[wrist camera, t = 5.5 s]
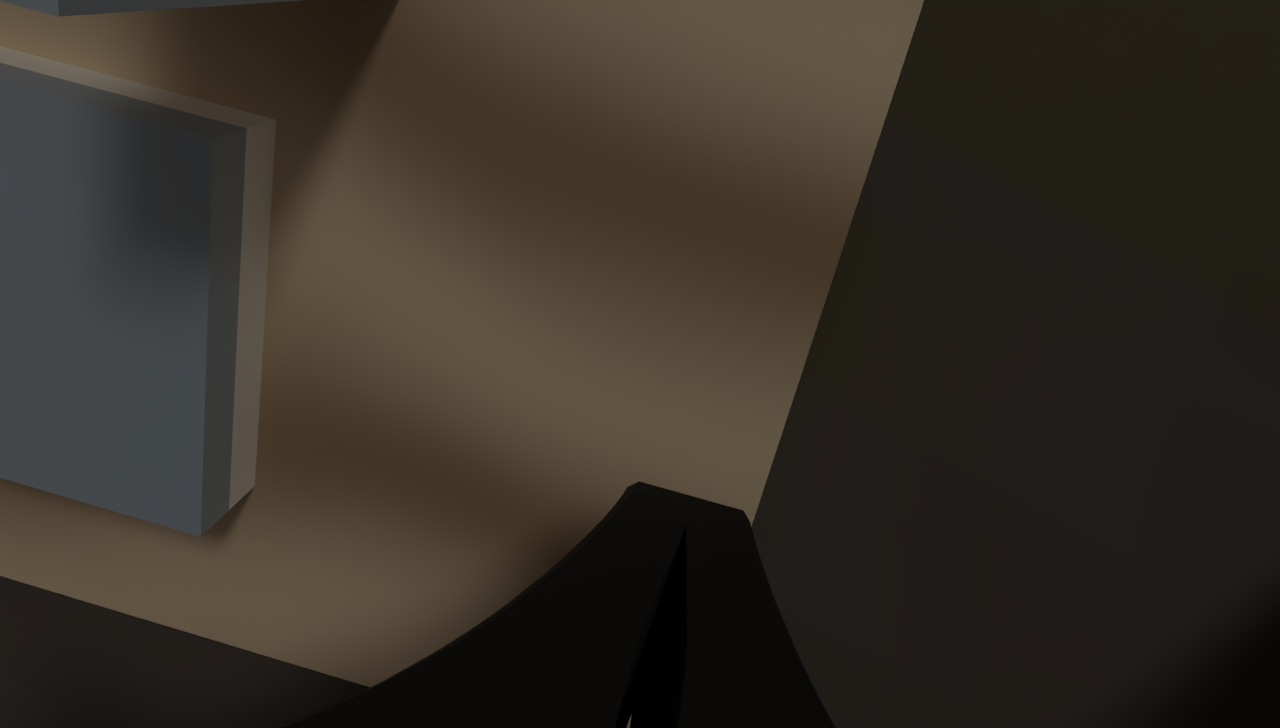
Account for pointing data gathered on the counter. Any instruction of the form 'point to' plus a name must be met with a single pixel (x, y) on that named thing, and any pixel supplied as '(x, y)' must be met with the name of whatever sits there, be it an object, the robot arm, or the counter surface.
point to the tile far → (130, 292)
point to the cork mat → (486, 292)
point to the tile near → (120, 5)
